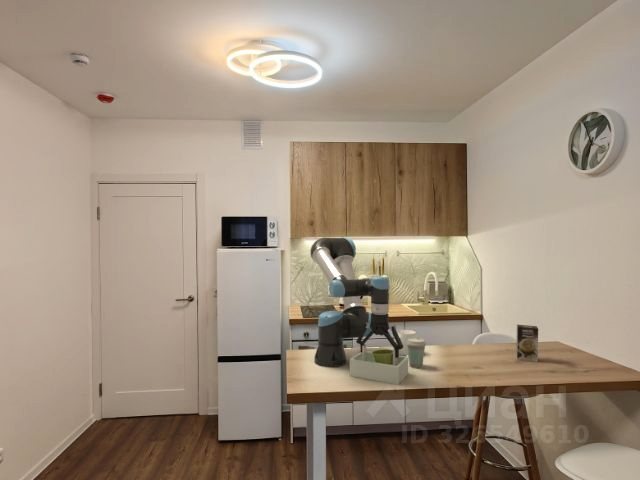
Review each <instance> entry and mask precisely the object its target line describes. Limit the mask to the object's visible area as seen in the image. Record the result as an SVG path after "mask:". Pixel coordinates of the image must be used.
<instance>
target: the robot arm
mask: <svg viewBox="0 0 640 480" xmlns="http://www.w3.org/2000/svg"><path fill="white" fill-rule="evenodd" d="M356 251H357V248H356V245H355V242H354V240H353V239H351V238H349V237H321V238H318V239H317V240H315V241H314V242H313V243H312V245H311V247H310V252H309V253H310V257H311V259H312V261H313V262H314V263H315V264H317V265H318V266H319V268H320V270H321V271H322V273H323V274H324V276H325V278H326V279H327V281H328V283H329V285H328V291H329V295H330V296H331V297H332V298H342V301H343V302H342V303H343V307H344V309H343V310H337V309H335V310H328V311H324V312H321V313H320V314H319V316H318V323H317V327H318V329H317V335H318V338H317V342H318V344H317V348H316V351H315V355H314V363H315V364H316V365H318V366H322V367H329V368H330V367H340V366H344V365H346V364H347V362H348V361H347V354H346V350H345V347H344V339H355V338H357V339H356V344H358V345H359V346H360V352H361V353H362V361H365V360H366V351H367V344H366V343H367V342H368V340H370V338H371V337H372V336H373V335H375V336H378V335H379V336H381V337H382V336H384V337H385V339H387V341H388V342H389V343H390V345H391V346H392V348H393V349H392V350H393V365H394V366H395V365H396V361H397V358H398V357H399V356H400V354H399V350H400V349H402V348H403V344H402V342H401V340H400V338H399V335H398V333H397V331H398V330H397V326H396V325H394V324H393V325H389V323H390V322H389V319H390V317H389V312H390V311H389V308H390V307H389V306H390V305H389V304H390V303H389V301H390V281H389V278H388V276H382V275H381V276H380V275H379V276H378V275H376V276H372V277H371V278H369V277H368V278H367V277H366V278H361V279H359V278H358V279H356V275H355V270H354V267H353V262H354V260H355V257H356V254H357V252H356ZM361 297H370V311H367V307H366V306H365V305H363V304H362V300H361ZM389 330H390V332H391V333H392V335H391V334H390V332H389ZM392 336H393V337H392ZM363 338H364V339H363ZM394 339H395V340H396V342H395V341H394ZM396 343H397V344H396ZM360 352H359V353H360Z"/></svg>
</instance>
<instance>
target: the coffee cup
mask: <svg viewBox="0 0 640 480" xmlns="http://www.w3.org/2000/svg"><path fill="white" fill-rule="evenodd" d="M407 347H408V356H407V357H408V367H410V368H412V369H413V368H414V369H420V368H423V366H424V365H423V364H424V357H425V348H426V341H425V339H423V338H419V337H417V338H409V339H408V340H407Z"/></svg>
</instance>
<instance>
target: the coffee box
mask: <svg viewBox="0 0 640 480" xmlns="http://www.w3.org/2000/svg"><path fill="white" fill-rule="evenodd" d="M515 337H516V340H515V341H516V344H515V346H516V347H515V358H516V360H517V361H526V362H534V363H538V361H539V327H538V326H536V325H529V324H528V325H527V324H526V325H525V324H524V325H523V324H516V336H515Z"/></svg>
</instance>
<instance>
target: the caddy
mask: <svg viewBox="0 0 640 480" xmlns="http://www.w3.org/2000/svg"><path fill="white" fill-rule="evenodd" d="M372 352H373V351H367V350H366V360H365V361H362V353H361V352H359V353H357V354H356V355H354V356H352V357H351V358H350V359H349V377H354V378H359V379H365V380H370V381H376V382H382V383H388V384H393V385H399V384H400V383H402V381H403V380H404V378H406V377H407V375H408V374H409V357H408V356H404V355H399V357H398V358H397V361H396V365H395V366H394V365H393V363H392V365H388V364H382V363H376V362H375V358H374V356H373V354H372Z"/></svg>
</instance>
